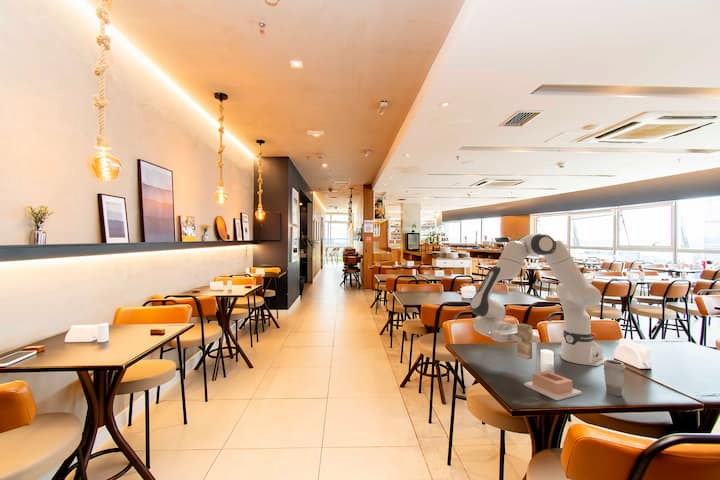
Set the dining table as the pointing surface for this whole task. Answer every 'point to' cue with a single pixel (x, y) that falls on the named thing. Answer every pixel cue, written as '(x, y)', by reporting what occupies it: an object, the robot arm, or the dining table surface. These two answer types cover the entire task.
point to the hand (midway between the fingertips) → (526, 339)
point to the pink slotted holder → (552, 385)
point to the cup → (614, 376)
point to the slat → (526, 346)
